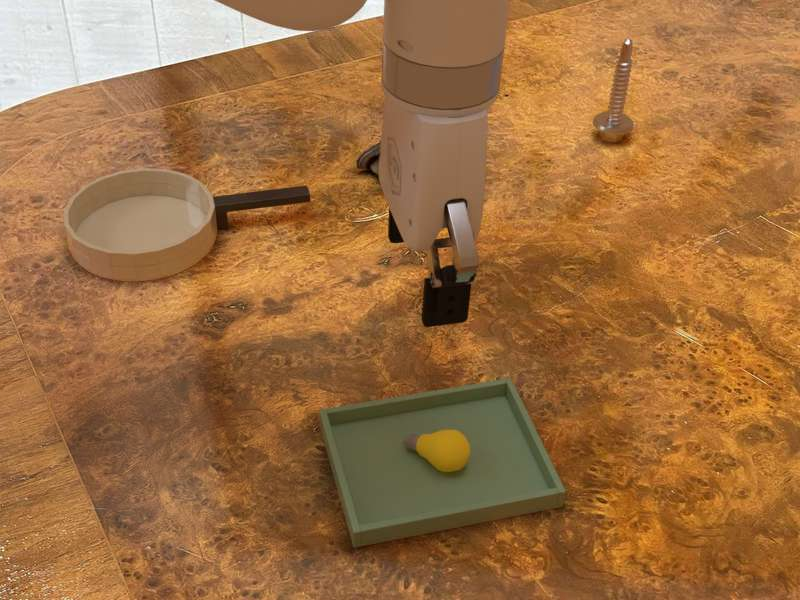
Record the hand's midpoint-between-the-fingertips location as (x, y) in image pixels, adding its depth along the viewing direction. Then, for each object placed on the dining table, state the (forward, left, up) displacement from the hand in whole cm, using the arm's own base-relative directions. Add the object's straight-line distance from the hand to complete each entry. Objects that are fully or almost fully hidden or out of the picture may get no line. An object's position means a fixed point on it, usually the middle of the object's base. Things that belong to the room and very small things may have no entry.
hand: (425, 278), depth 78 cm
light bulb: (+1, -2, -18) cm, 18 cm away
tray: (+1, -2, -18) cm, 18 cm away
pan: (-20, +35, -18) cm, 44 cm away
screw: (+36, +43, -19) cm, 59 cm away
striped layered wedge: (+11, +40, -19) cm, 46 cm away
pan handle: (-7, +35, -18) cm, 40 cm away
